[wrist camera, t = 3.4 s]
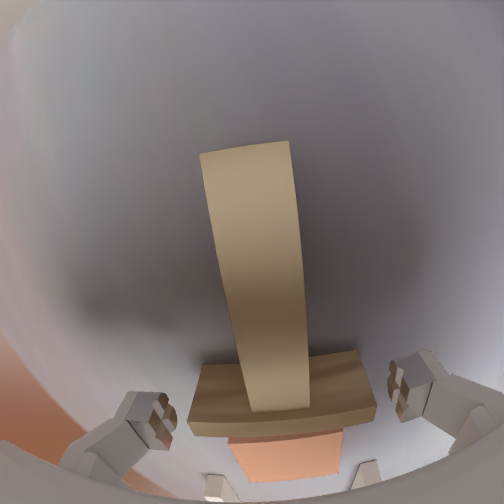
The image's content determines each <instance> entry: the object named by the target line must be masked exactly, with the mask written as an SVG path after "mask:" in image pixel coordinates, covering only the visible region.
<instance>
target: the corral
mask: <svg viewBox="0 0 504 504" xmlns="http://www.w3.org/2000/svg"><path fill="white" fill-rule="evenodd" d="M379 482H382V480H381V476H380V472H379V468H378V464H377V460H375V461H371V462H366V463H362V464H360V466H359V469H358V472H357V474H356V477H355V479H354V482H353V484H352V487H351V489H350V490H352V489H356V488H360V487H364V486H368V485H372V484H375V483H379ZM204 497H205V498H206V499H207V500H208V501H212V502H240V500H239V499H238V497H237V496H236V494H235V492H234V491H233V489H232V488H231V486H230V485H229V483H228V481H227V480H226V478H225V476H221V475H208V476H207V482H206V487H205V493H204Z"/></svg>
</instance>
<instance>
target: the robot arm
mask: <svg viewBox="0 0 504 504" xmlns="http://www.w3.org/2000/svg"><path fill="white" fill-rule="evenodd" d="M389 370H390V372H391V375H390V376H389V377H388V384H387V385H388V393H389V396H390V399H391V401H392V402H394V403H396V404H397V405H396V412H397V415H398V417H399V419H400V421H401V423H402V422H406V421H409V420H412V419H415V418H418V417H420V416H422V417H423V418H425V419H426V420H428V421H429V422H431V423H432V424H434V425H435V426H437V427H438V428H440V429H442V430H443V431H445V432H446V433H448V434H449V435H451V436H453V437H454V438H456V440H455V441H454V443H453V445H452V447H451V448H450V450H449V452H448V453H449V456H447V457H444V458H442V459H440V460H438V461H436V462H433V463H431V464H429V465H426V466H424V467H422V468H419V469H417V470H414V471H411V472H409V473H406V474H403V475H400V476H397V477H394V478H391V479H388V480H385V481H382V482H379V483H375V484H372V485H368V486H364V487H360V488H356V489H352V490H348V491H343V492H338V493H333V494H328V495H322V496H316V497H309V498H302V499H293V500H283V501H269V502H212V501H198V500H188V499H179V498H172V497H164V496H159V495H153V494H148V493H143V492H138V491H133V490H129V488H130V487H129V485H128V484H127V483H126V482H125V481H124V480H123V479H122V478H121V477H122V476H123V475H124V474H125V473H126V472H127V471H128V470H130V469H131V468H132V467H133V466H134V465H135V464H136V463H137V462H138V461H139V460H140V459H141V458H142V457H143V456H144V455H145V454H146V453H147V452H148V451H149V449H152V450H165V451H169V448H170V445H171V442H172V439H173V437H172V435H171V432H173V431H174V430H175V429H176V426H177V414H176V411H175V409H174V407H172V406H171V405H170V404H168V401H169V399H168V397H167V395H166V394H165V393H161V392H141V391H140V392H137V391H129V392H128V393H127V394H126V396H125V397H124V399H123V401H122V403H121V405H120V407H119V408H118V410H117V412H116V414H115V416H114V418H113V419H109V420H107V421H106V422H104V423H103V424H101V425H100V426H98V427H96V428H95V429H93V430H92V431H90V432H89V433H87V434H86V435H84V436H83V437H81V438H79V439H78V440H76V441H75V442H73V443H71V444H70V445H69V446H68V448H67V450H66V451H65V453H64V455H63V457H62V458H61V460H60V462H59V464H58V466H56V465H53V464H51V463H49V462H47V461H44V460H42V459H40V458H38V457H36V456H34V455H32V454H30V453H28V452H26V451H24V450H22V449H20V448H18V447H17V446H15V445H13V444H11V443H9V442H8V441H5V440H1V441H0V504H504V395H503V394H502V392H499V391H497V390H494V389H491V388H488V387H486V386H483V385H480V384H478V383H475V382H472V381H470V380H467V379H464V378H462V377H459V376H456V375H454V374H451V375H449V374H448V373H447V372H446V370H445V369H444V367H443V366H442V365H441V363H440V362H439V361H438V359H437V358H436V357H435V355H434V354H433V353H432V351H431V350H429V349H426V350H423V351H420V352H417V353H414V354H411V355H408V356H405V357H402V358H399V359H396V360H392V361H391V363H390V367H389Z"/></svg>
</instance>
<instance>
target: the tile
mask: <svg viewBox="0 0 504 504" xmlns="http://www.w3.org/2000/svg"><path fill="white" fill-rule="evenodd" d="M342 439H343V428H336V429H330V430H323V431H316V432H309V433H300V434H290V435H278V436H261V437H229V438H228V445H229V447H230V449H231V451H232V453H233V454H234V456H235V458H236V460H237V462H238V463H239V465H240V467H241V469H242V470H243V472H244V474H245V475H246V477H247V479H248V481H249V482H273V481H286V480H296V479H304V478H312V477H318V476H325V475H330V474H336V473H339V465H340V457H341V449H342Z"/></svg>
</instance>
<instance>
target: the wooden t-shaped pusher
mask: <svg viewBox="0 0 504 504" xmlns="http://www.w3.org/2000/svg"><path fill="white" fill-rule="evenodd" d="M199 157H200V163H201V169H202V175H203V181H204V187H205V193H206V198H207V204H208V210H209V215H210V221H211V226H212V232H213V237H214V242H215V247H216V253H217V258H218V263H219V268H220V273H221V278H222V283H223V287H224V292H225V297H226V302H227V307H228V311H229V316H230V320H231V325H232V330H233V334H234V339H235V343H236V347H237V352H238V356H239V360H240V363H235V364H209V365H203V367H202V370H201V374H200V377H199V381H198V384H197V388H196V391H195V395H194V398H193V402H192V405H191V409H190V412H189V416H188V419H187V423H188V425H189V426H190V428H191V430H192V432H193V434H194V436H205V437H261V436H278V435H290V434H300V433H309V432H316V431H323V430H330V429H336V428H342V427H347V426H353V425H358V424H362V423H367V422H371V421H373V419H374V415H375V412H376V408H377V404H376V401H375V398H374V395H373V392H372V390H371V387H370V384H369V381H368V379H367V376H366V373H365V371H364V368H363V365H362V363H361V360H360V358H359V355H358V353H357V350H351V351H345V352H339V353H332V354H326V355H318V356H311V357H308V335H307V317H306V301H305V287H304V274H303V262H302V250H301V240H300V230H299V220H298V211H297V202H296V193H295V185H294V177H293V169H292V161H291V154H290V147H289V140H288V141H279V142H270V143H262V144H255V145H248V146H241V147H235V148H229V149H223V150H217V151H211V152H206V153H201V154H199Z"/></svg>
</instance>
